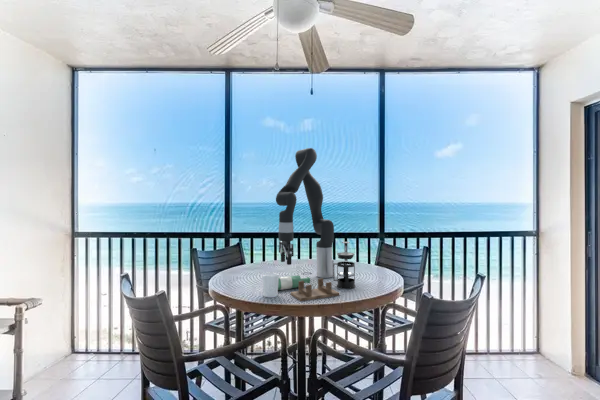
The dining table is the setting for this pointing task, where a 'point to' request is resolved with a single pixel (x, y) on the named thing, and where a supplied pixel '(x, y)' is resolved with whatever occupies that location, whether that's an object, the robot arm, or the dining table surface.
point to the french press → (345, 270)
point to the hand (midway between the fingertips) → (285, 263)
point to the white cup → (270, 284)
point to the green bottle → (291, 282)
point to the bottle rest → (314, 291)
